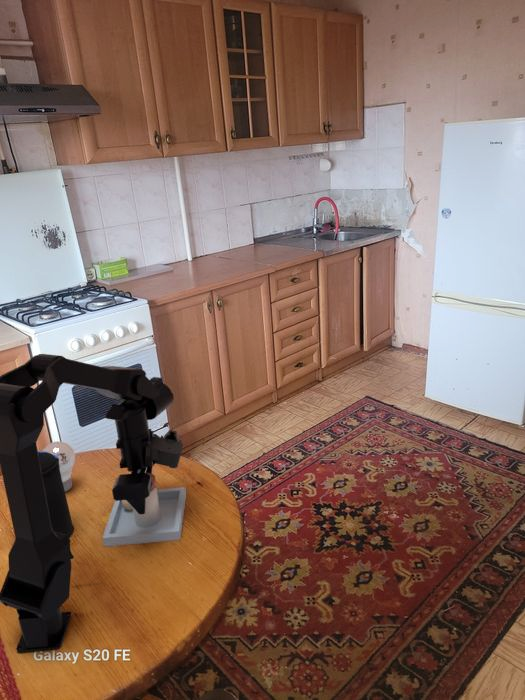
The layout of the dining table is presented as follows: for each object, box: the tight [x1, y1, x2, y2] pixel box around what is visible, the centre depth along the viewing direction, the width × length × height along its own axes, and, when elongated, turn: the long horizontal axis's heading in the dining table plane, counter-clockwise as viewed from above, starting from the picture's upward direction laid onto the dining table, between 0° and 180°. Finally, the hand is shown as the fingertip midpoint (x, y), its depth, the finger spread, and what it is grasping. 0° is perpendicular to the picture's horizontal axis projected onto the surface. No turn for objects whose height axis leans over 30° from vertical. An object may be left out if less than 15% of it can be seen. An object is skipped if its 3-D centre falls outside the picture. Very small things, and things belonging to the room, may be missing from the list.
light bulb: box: [42, 441, 76, 493], centre depth 115 cm, size 7×7×12 cm
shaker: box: [133, 472, 161, 527], centre depth 104 cm, size 5×5×9 cm
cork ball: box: [122, 500, 133, 510], centre depth 109 cm, size 3×3×3 cm
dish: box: [102, 486, 187, 548], centre depth 105 cm, size 14×14×2 cm
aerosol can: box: [37, 449, 75, 539], centre depth 100 cm, size 8×8×20 cm
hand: (145, 502), depth 104 cm, fingers open, 7 cm apart
